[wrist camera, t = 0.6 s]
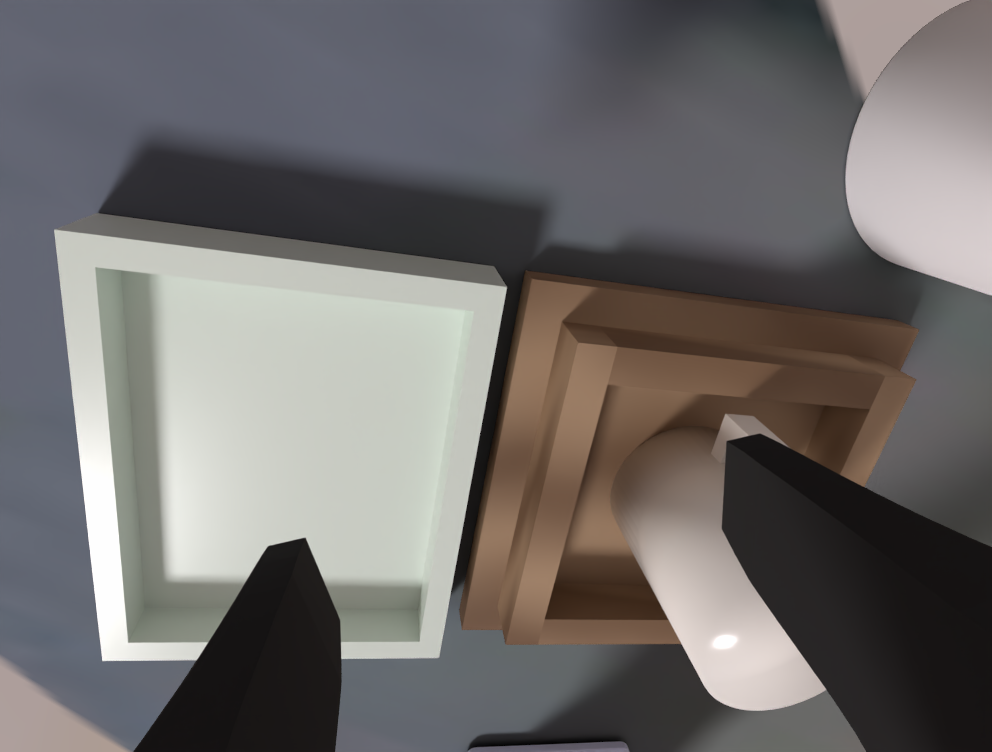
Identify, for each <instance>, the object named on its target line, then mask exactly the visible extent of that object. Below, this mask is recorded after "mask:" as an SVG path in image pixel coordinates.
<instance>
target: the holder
mask: <svg viewBox="0 0 992 752" xmlns="http://www.w3.org/2000/svg"><path fill="white" fill-rule="evenodd" d="M918 332H919V329H916V328H914V327H912V326H909V325H907V324H905V323H903V322H900V321H898V320H891V319H884V318H876V317H869V316H861V315H854V314H846V313H839V312H832V311H824V310H817V309H809V308H802V307H794V306H787V305H779V304H772V303H764V302H757V301H749V300H742V299H735V298H727V297H720V296H712V295H705V294H697V293H690V292H682V291H675V290H667V289H660V288H652V287H645V286H638V285H630V284H623V283H615V282H608V281H600V280H593V279H585V278H578V277H570V276H563V275H555V274H548V273H541V272H533V271H526V270H525V274H524V279H523V284H522V290H521V295H520V300H519V305H518V310H517V315H516V321H515V326H514V331H513V336H512V341H511V346H510V351H509V357H508V362H507V367H506V372H505V377H504V382H503V388H502V393H501V398H500V403H499V408H498V413H497V419H496V424H495V429H494V434H493V439H492V444H491V449H490V455H489V460H488V465H487V470H486V475H485V480H484V486H483V491H482V496H481V501H480V506H479V511H478V516H477V522H476V527H475V532H474V537H473V542H472V547H471V553H470V558H469V563H468V568H467V573H466V578H465V583H464V589H463V594H462V599H461V604H460V609H459V611H460V619H461V626H462V630H503V635H504V639H505V644H506V645H532V644H681V642H680V640H679V638H678V636H677V634H676V633H675V631H674V629H673V627H672V625H671V623H670V621H669V620H668V618H667V616H666V614H665V612H664V610H663V608H662V607H661V605H660V603H659V601H658V599H657V597H656V595H655V594H654V592H653V590H652V588H651V586H650V584H649V582H648V581H647V579H646V577H645V575H644V573H643V571H642V569H641V568H640V566H639V564H638V562H637V560H636V558H635V556H634V555H633V553H632V551H631V549H630V547H629V545H628V543H627V542H626V540H625V538H624V536H623V534H622V532H621V530H620V529H619V527H618V525H617V523H616V521H615V519H614V517H613V514H612V511H611V505H610V493H611V488H612V484H613V481H614V478H615V476H616V474H617V472H618V470H619V468H620V467H621V465H622V464H623V462H624V461H625V460H626V459H627V457H628V456H629V455H630V454H631V453H632V452H633V451H634V450H635V449H636V448H637V447H639V446H640V445H641V444H643V443H644V442H645V441H647V440H648V439H650V438H652V437H653V436H655V435H658V434H660V433H662V432H664V431H667V430H670V429H674V428H678V427H684V426H703V427H709V428H712V429H716V430H718V431H719V430H720V427H721V424H722V422H723V419H724V416H725V414H735V415H747V416H754V417H755V418H756V419H757V420H759V421H760V422H761V423H762V424H763V425H764V426H765V427H767V428H768V429H769V430H770V431H771V432H772V433H774V434H775V435H776V436H777V437H778V438H779V439H780V440H782V441H783V442H784V443H785V444H786V445H787V446H788V447H790V448H791V449H793V450H794V451H796V452H798V453H800V454H802V455H804V456H806V457H808V458H810V459H811V460H813V461H815V462H817V463H819V464H821V465H823V466H825V467H827V468H828V469H830V470H832V471H834V472H836V473H838V474H840V475H842V476H844V477H845V478H847V479H849V480H851V481H853V482H855V483H857V484H859V485H861V486H863V487H865V484H866V482H867V480H868V478H869V476H870V474H871V472H872V470H873V468H874V466H875V464H876V462H877V460H878V458H879V456H880V454H881V452H882V449H883V447H884V445H885V443H886V441H887V439H888V437H889V435H890V433H891V431H892V429H893V427H894V425H895V423H896V421H897V419H898V416H899V414H900V412H901V410H902V408H903V406H904V404H905V402H906V400H907V398H908V396H909V394H910V392H911V390H912V388H913V386H914V384H915V381H916V379H914V378H912V377H910V376H909V375H907V374H905V373H903V372H901V371H900V370H901V368H902V366H903V364H904V361H905V359H906V357H907V355H908V353H909V351H910V349H911V347H912V344H913V342H914V340H915V338H916V336H917V334H918Z"/></svg>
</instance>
